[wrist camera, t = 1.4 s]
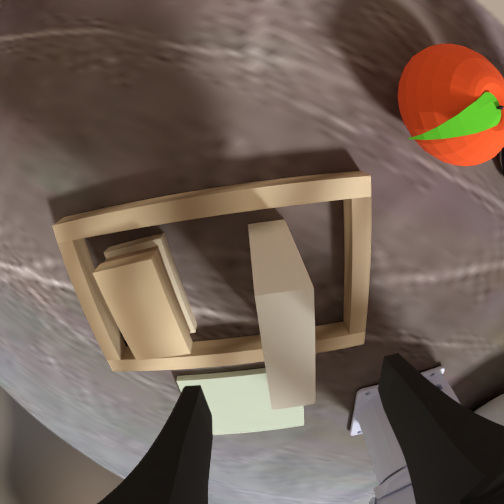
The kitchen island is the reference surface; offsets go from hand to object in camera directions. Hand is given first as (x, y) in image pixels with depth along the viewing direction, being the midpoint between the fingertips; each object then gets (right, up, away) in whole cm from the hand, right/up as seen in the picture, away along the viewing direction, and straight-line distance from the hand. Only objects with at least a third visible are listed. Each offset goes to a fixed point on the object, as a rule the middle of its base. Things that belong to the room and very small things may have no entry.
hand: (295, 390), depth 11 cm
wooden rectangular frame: (-4, +4, +9) cm, 10 cm away
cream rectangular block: (0, +4, +9) cm, 10 cm away
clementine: (+9, +15, +5) cm, 18 cm away
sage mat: (-2, -8, +14) cm, 16 cm away
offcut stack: (-8, +3, +9) cm, 13 cm away
